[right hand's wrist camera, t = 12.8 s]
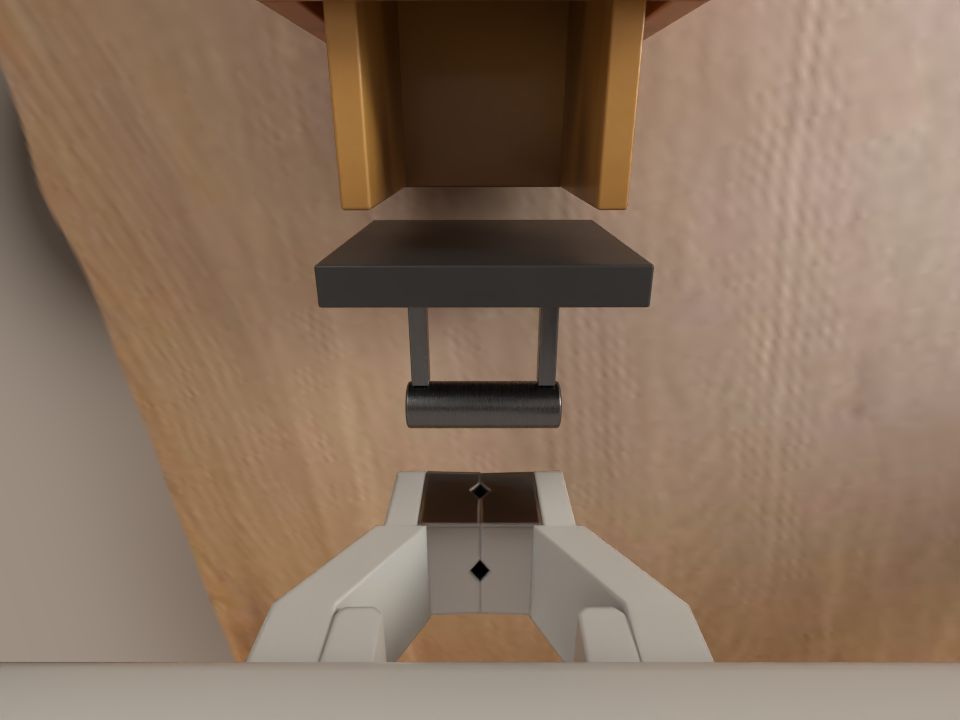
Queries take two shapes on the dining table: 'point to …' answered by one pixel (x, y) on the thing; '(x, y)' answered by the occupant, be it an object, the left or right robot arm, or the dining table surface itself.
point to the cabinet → (305, 3)
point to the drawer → (484, 173)
